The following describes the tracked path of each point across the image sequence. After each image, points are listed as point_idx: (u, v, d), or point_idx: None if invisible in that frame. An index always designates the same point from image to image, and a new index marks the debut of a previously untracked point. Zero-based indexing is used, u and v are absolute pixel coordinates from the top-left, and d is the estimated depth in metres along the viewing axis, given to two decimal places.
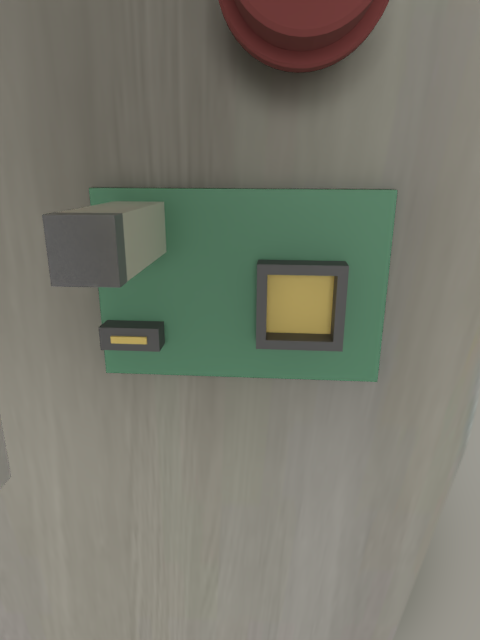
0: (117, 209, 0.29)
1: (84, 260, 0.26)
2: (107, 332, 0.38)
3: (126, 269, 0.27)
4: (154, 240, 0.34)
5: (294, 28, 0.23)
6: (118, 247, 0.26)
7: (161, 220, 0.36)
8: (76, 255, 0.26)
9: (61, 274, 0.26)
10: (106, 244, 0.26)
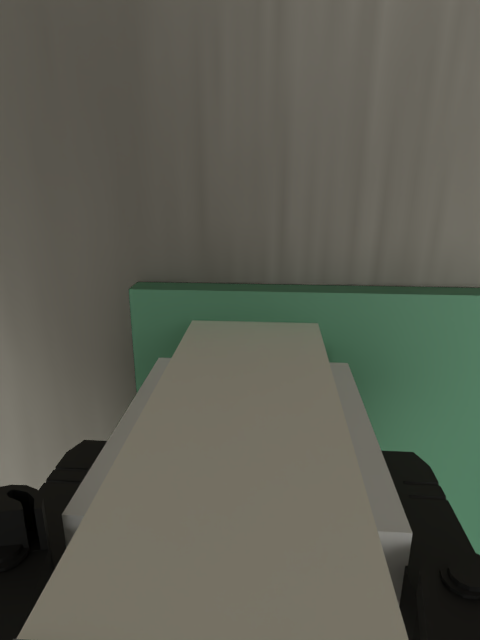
0: (287, 482, 0.07)
1: None
2: None
3: None
4: None
5: None
6: None
7: None
8: None
9: None
10: None
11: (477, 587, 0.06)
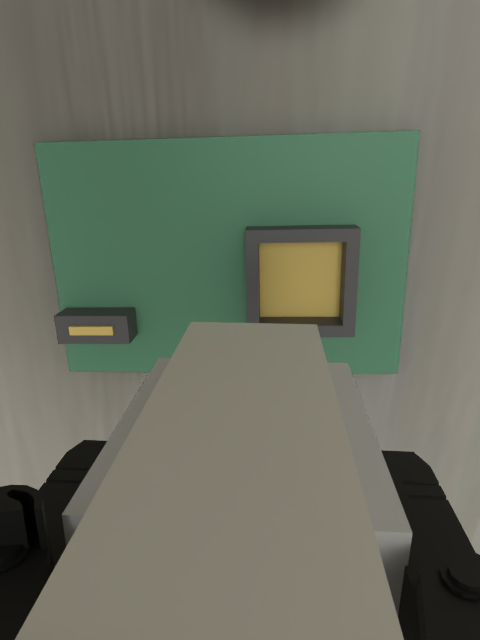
0: (285, 484, 0.07)
1: None
2: (64, 322, 0.31)
3: None
4: None
5: None
6: None
7: None
8: None
9: None
10: None
11: (477, 587, 0.06)
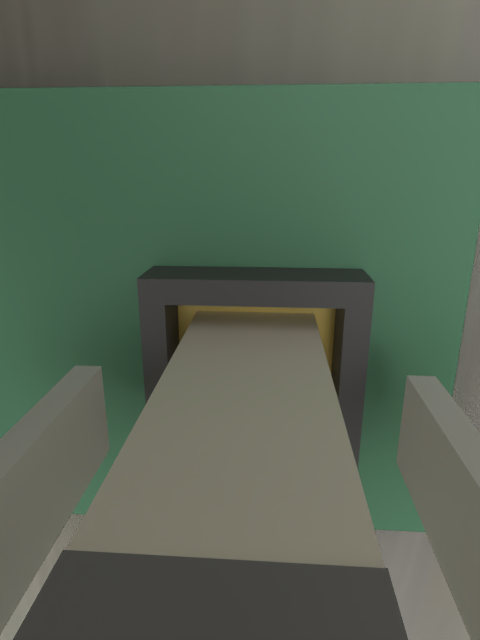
0: (284, 440, 0.08)
1: None
2: None
3: None
4: None
5: None
6: None
7: None
8: None
9: None
10: None
11: None
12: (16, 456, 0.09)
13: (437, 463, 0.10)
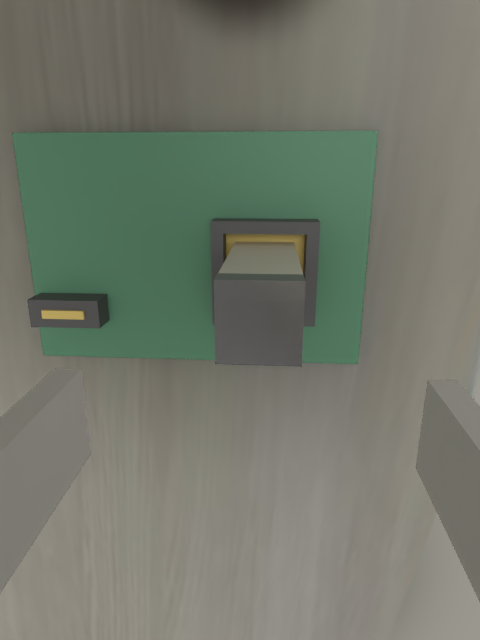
0: (277, 263, 0.24)
1: (260, 334, 0.21)
2: (37, 305, 0.32)
3: None
4: None
5: None
6: (303, 318, 0.21)
7: None
8: (251, 328, 0.21)
9: (229, 349, 0.21)
10: (291, 315, 0.21)
11: None
12: None
13: (464, 471, 0.10)
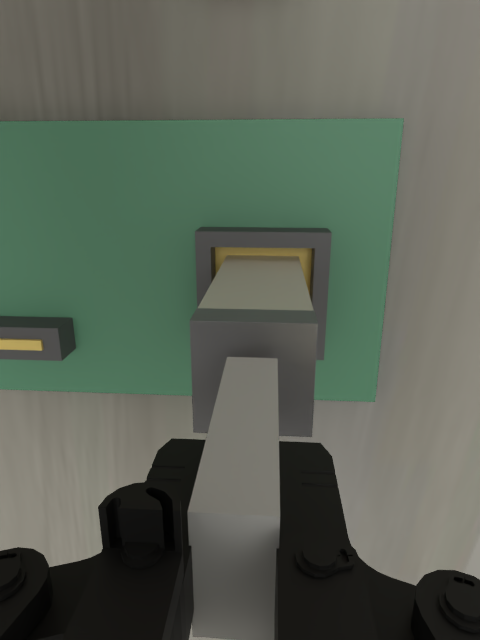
0: (278, 290, 0.18)
1: None
2: None
3: None
4: None
5: None
6: (314, 372, 0.15)
7: None
8: None
9: None
10: (297, 369, 0.15)
11: (326, 565, 0.06)
12: (238, 438, 0.09)
13: None
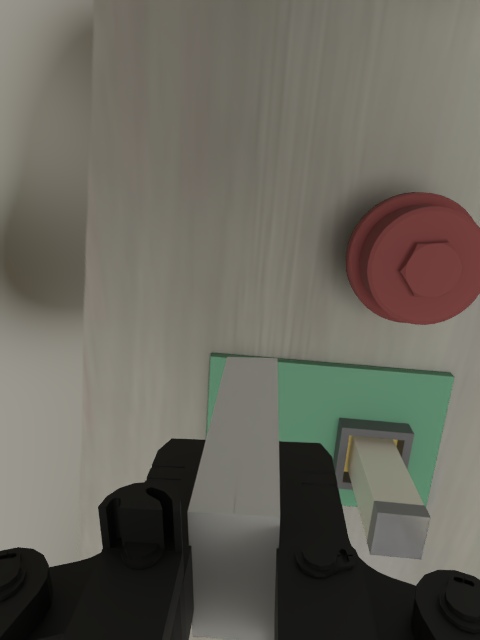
0: (400, 483, 0.40)
1: (400, 541, 0.36)
2: None
3: None
4: None
5: (411, 319, 0.33)
6: (425, 533, 0.36)
7: None
8: (395, 538, 0.36)
9: (380, 547, 0.37)
10: (419, 533, 0.36)
11: (326, 565, 0.06)
12: (238, 438, 0.09)
13: None
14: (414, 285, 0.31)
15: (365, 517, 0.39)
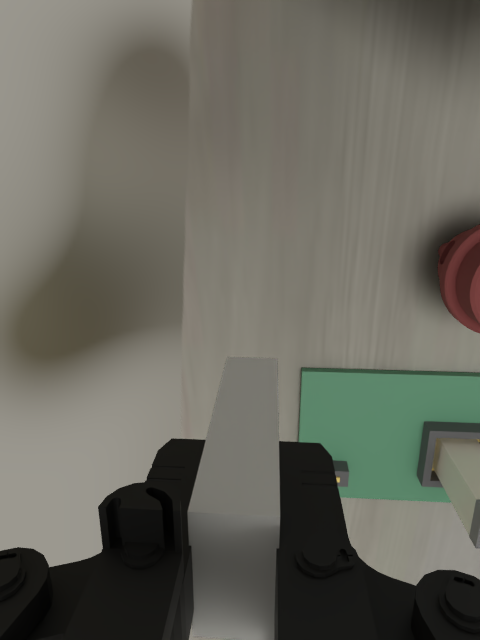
0: None
1: None
2: None
3: None
4: None
5: None
6: None
7: None
8: None
9: None
10: None
11: (326, 565, 0.06)
12: (238, 438, 0.09)
13: None
14: None
15: (464, 514, 0.43)
